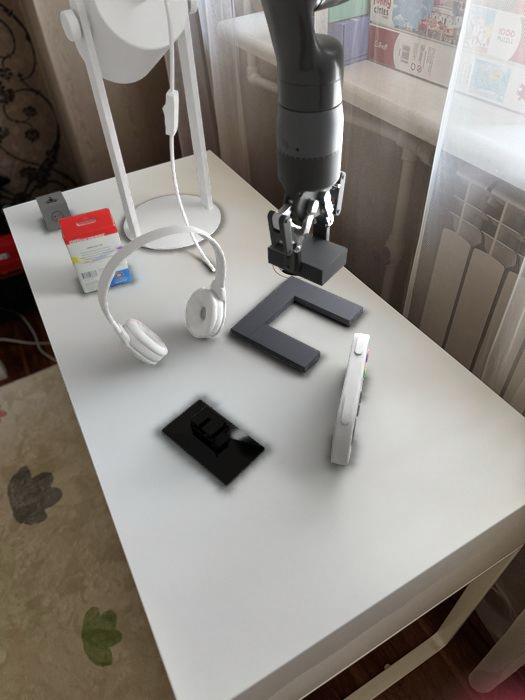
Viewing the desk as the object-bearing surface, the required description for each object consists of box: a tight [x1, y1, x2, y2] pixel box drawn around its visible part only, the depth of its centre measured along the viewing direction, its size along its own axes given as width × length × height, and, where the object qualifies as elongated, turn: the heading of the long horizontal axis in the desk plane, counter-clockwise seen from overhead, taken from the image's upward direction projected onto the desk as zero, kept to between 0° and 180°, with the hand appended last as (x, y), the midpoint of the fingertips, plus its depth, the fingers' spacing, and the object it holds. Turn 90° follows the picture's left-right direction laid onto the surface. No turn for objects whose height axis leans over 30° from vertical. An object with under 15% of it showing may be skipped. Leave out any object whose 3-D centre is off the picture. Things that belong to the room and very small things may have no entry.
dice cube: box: [35, 190, 72, 232], centre depth 107 cm, size 5×5×5 cm
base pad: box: [230, 275, 364, 374], centre depth 84 cm, size 14×16×1 cm
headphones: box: [97, 225, 227, 365], centre depth 75 cm, size 7×18×20 cm, turn 123°
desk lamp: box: [59, 0, 222, 272], centre depth 88 cm, size 21×32×45 cm, turn 35°
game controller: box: [330, 332, 371, 466], centre depth 68 cm, size 20×2×8 cm, turn 165°
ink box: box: [58, 207, 133, 294], centre depth 89 cm, size 8×5×15 cm, turn 111°
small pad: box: [267, 232, 348, 287], centre depth 73 cm, size 6×9×3 cm, turn 52°
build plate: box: [161, 399, 266, 487], centre depth 68 cm, size 12×7×5 cm, turn 47°
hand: (307, 258), depth 74 cm, fingers closed on small pad, 6 cm apart
